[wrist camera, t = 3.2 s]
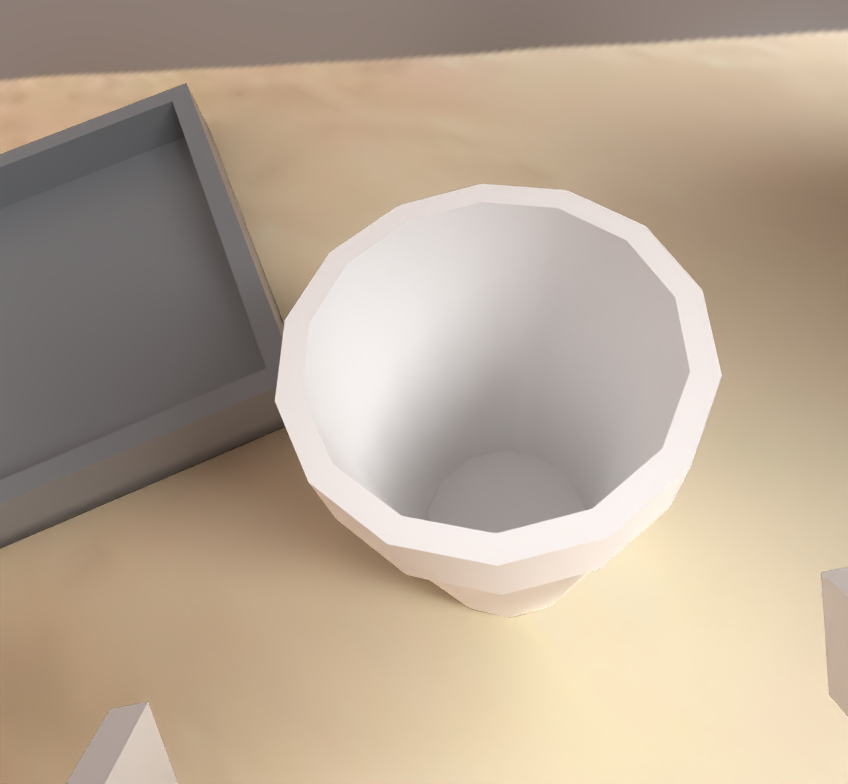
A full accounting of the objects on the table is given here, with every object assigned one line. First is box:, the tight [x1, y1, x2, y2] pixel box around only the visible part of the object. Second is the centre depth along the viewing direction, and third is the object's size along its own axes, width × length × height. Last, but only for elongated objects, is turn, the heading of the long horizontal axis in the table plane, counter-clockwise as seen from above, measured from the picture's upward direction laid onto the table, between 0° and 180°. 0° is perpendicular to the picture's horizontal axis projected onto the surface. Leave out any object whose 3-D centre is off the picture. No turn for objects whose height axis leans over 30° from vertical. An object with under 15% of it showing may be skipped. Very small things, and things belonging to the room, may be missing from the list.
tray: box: [0, 83, 285, 548], centre depth 33 cm, size 20×20×3 cm
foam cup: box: [275, 184, 722, 617], centre depth 21 cm, size 10×9×13 cm
